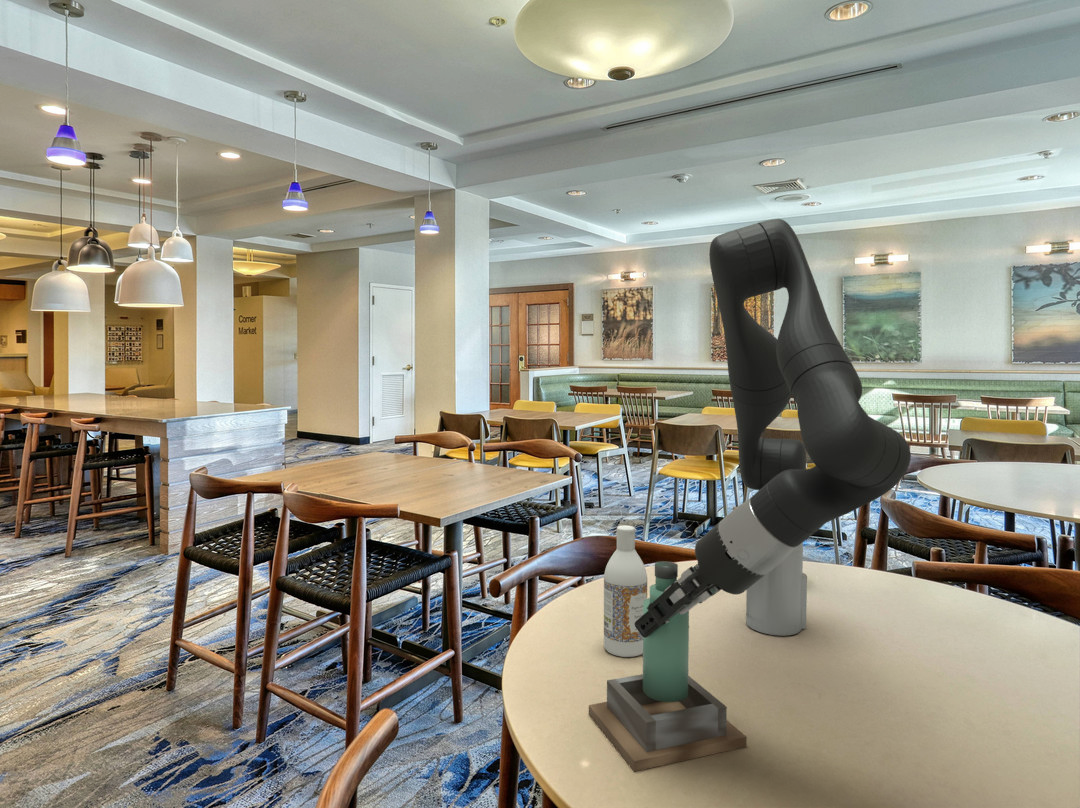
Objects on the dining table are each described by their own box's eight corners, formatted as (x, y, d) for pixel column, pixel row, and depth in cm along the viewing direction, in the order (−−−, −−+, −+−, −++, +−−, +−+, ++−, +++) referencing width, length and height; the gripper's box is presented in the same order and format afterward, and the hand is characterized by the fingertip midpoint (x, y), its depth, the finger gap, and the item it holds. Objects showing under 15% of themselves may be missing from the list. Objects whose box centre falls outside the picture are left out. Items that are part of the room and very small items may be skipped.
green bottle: (673, 677, 85) (674, 556, 84) (697, 697, 79) (698, 568, 79) (634, 684, 83) (635, 560, 82) (656, 705, 78) (657, 573, 77)
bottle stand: (688, 695, 90) (688, 662, 90) (746, 746, 78) (747, 708, 77) (588, 713, 85) (588, 678, 85) (634, 771, 73) (634, 730, 73)
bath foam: (622, 662, 100) (623, 534, 99) (595, 646, 106) (595, 525, 105) (655, 651, 104) (656, 528, 103) (627, 636, 110) (627, 520, 109)
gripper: (746, 508, 81) (660, 583, 89) (696, 530, 70) (603, 613, 78) (789, 557, 78) (696, 631, 86) (744, 588, 67) (642, 669, 75)
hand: (652, 622), depth 82 cm, fingers closed on green bottle, 5 cm apart
